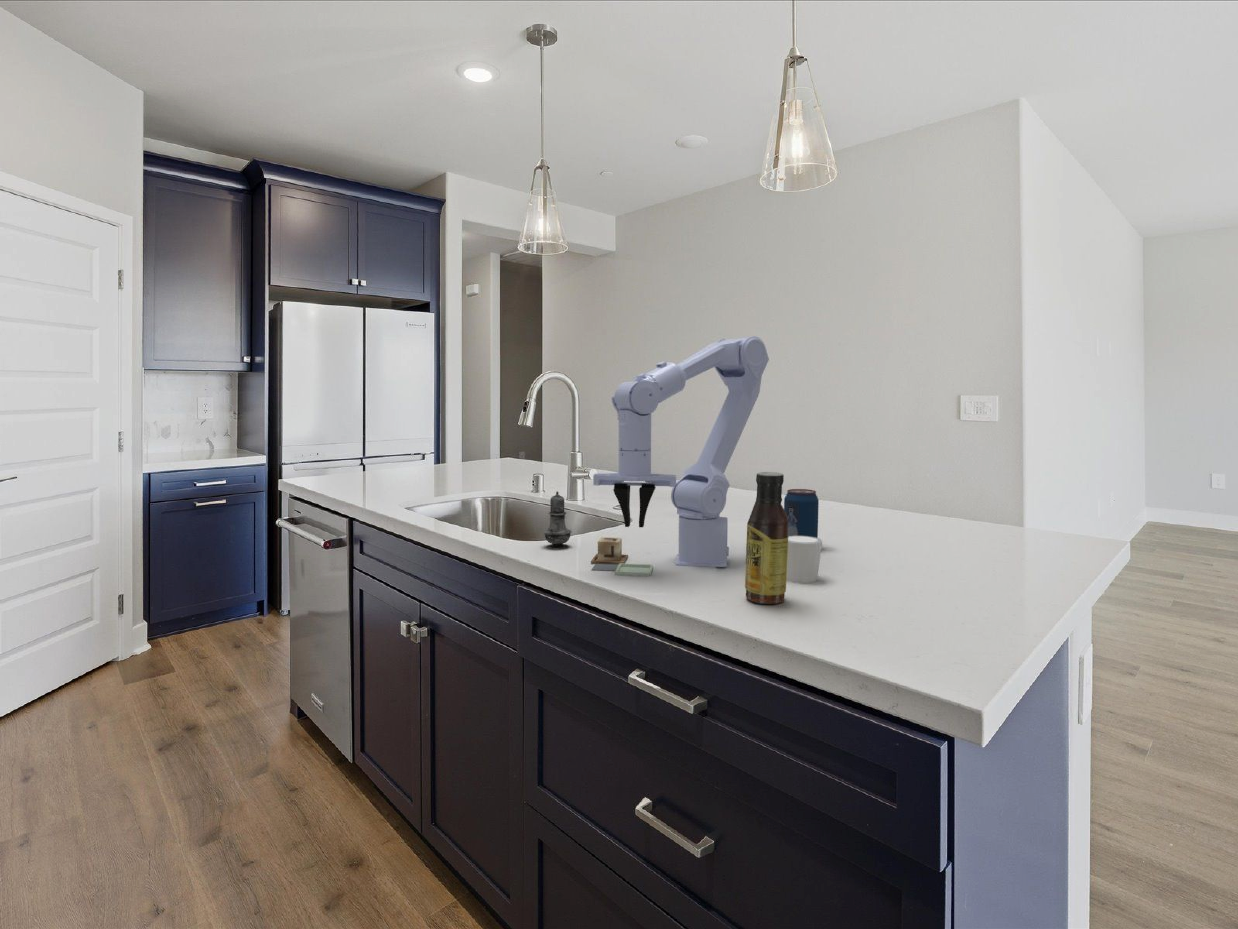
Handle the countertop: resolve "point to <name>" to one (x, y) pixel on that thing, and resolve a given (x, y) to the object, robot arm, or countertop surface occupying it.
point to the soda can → (802, 512)
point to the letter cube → (610, 549)
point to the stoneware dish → (634, 569)
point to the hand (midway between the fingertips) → (634, 526)
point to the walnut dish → (595, 561)
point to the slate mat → (604, 567)
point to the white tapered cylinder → (803, 558)
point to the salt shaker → (557, 524)
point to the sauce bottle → (767, 542)
